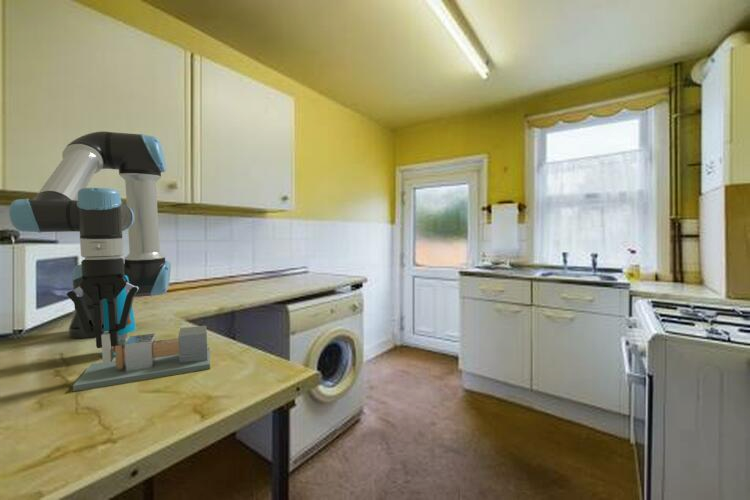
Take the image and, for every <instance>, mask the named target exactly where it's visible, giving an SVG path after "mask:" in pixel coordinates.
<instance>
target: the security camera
mask: <svg viewBox="0 0 750 500" xmlns="http://www.w3.org/2000/svg"><path fill="white" fill-rule="evenodd" d="M125 278H126V279H127V281H128V283H129V280H128V276H127V275H125ZM125 291H126V288H125V287H124V289H123V290H122V291H121V293H120V294H119V295H118V296H117V314H118V324H120V320H121V315H122V311H123V307H124V303H125V299H126V296H127V293H126V292H125ZM103 310H104V328H105V330H104V332H106V331H109V318H108V303H107V299H104V301H103ZM136 330H137V327H136V322H135V315H134V310H133V306H132V307H131V311H130V315H129V320H128V324H127V326H126V327H125V328H124V329H121V330H119V331H118V342H119V341H120V340H124V339H126V341H128V334H129V333H131V332H134V331H136ZM113 351H114V358H116V355H115V346H113ZM100 356H101V357H102V352H101V353H100Z"/></svg>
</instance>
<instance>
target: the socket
mask: <svg viewBox="0 0 750 500" xmlns="http://www.w3.org/2000/svg"><path fill="white" fill-rule="evenodd" d="M207 330H208V329H207V325H199V326H198V325H197V326H190V327H182V328H179V333H178V336H177V338H178V343H179V365H181V364H188V363H194V362H200V361H207V348H208V335H207V334H208V333H207Z"/></svg>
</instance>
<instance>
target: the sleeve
mask: <svg viewBox="0 0 750 500" xmlns="http://www.w3.org/2000/svg"><path fill="white" fill-rule="evenodd" d="M153 341H156V334H155V333H148V334H146V333H145V334H140V335H139V334H138V335H131V336H130V337H129V338H127V342H126V343H125V359H126V372H131V371H138V370H144V369H151V368H153V365H154V363H155V360H156V358H153V354H152V343H153Z"/></svg>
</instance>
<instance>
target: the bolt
mask: <svg viewBox="0 0 750 500" xmlns="http://www.w3.org/2000/svg"><path fill="white" fill-rule="evenodd" d="M127 341H128V340H127ZM127 341H126V339H124V340H120V341H119V342H118V343H117V345H116V346H115V355H116V357H115V361H116V369H122V368H123V367H124V365H125V364H126V359H125V343H126V342H127ZM152 354H153V358H158V357H165V356H172V355H179V343H178V337H175V338H168V339H167V338H165V339H159V340H155V341H153V343H152Z"/></svg>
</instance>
